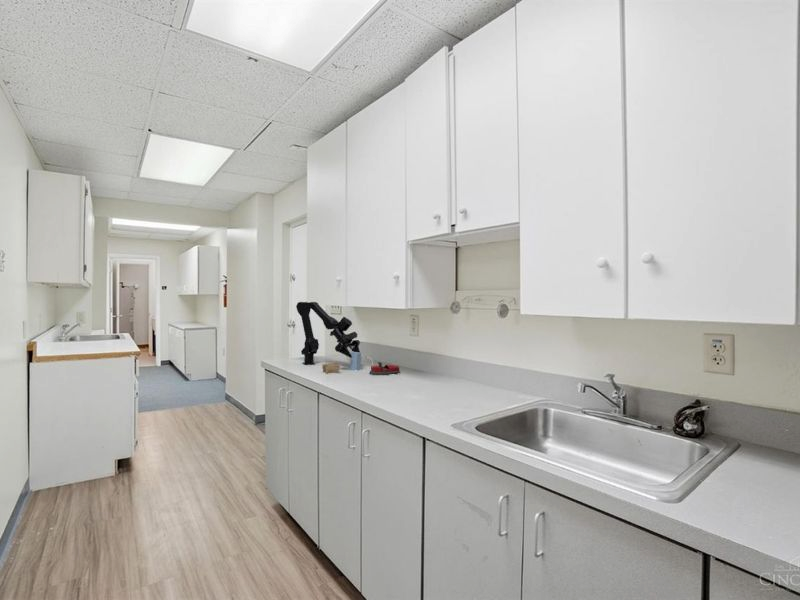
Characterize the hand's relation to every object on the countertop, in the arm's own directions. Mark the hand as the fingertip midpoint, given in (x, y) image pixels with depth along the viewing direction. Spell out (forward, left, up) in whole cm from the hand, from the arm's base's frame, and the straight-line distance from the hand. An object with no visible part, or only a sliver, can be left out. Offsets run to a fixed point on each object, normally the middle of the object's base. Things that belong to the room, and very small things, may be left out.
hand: (355, 356), depth 246 cm
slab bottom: (+4, -16, -8) cm, 19 cm away
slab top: (+4, -16, -6) cm, 18 cm away
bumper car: (+17, +10, -8) cm, 21 cm away
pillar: (0, 0, -8) cm, 8 cm away
